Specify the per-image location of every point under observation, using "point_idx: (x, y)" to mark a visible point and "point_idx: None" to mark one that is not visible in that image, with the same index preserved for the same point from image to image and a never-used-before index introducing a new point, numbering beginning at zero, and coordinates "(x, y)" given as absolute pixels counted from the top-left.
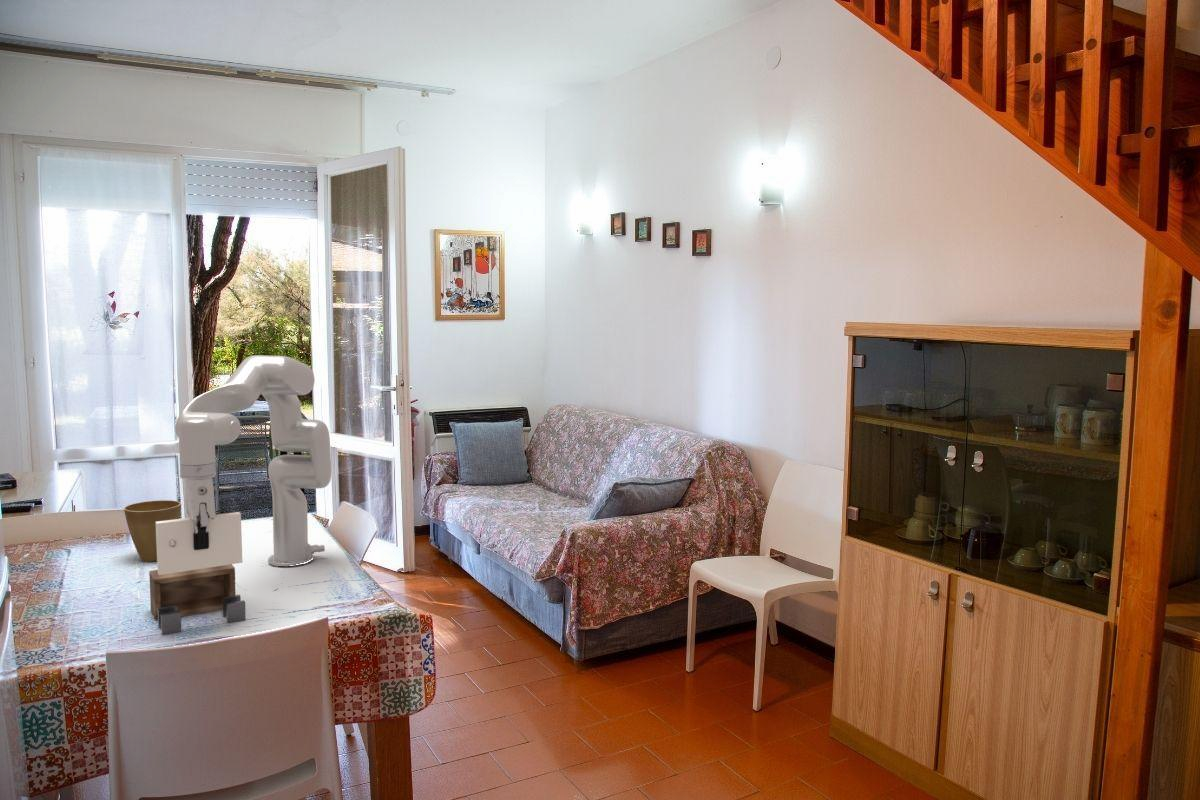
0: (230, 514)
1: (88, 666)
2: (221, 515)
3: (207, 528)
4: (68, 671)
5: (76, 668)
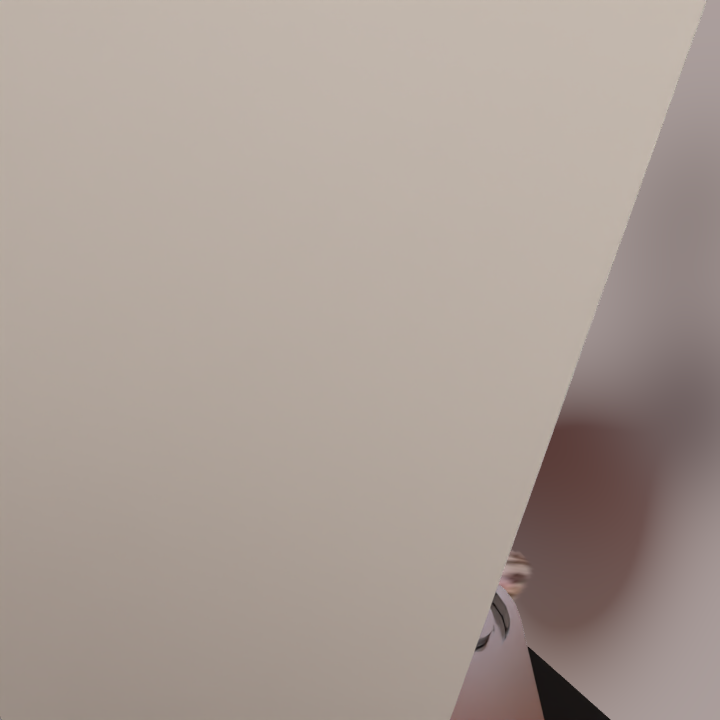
0: (445, 33)
1: (515, 565)
2: (342, 648)
3: (528, 665)
4: (512, 596)
5: (506, 583)
